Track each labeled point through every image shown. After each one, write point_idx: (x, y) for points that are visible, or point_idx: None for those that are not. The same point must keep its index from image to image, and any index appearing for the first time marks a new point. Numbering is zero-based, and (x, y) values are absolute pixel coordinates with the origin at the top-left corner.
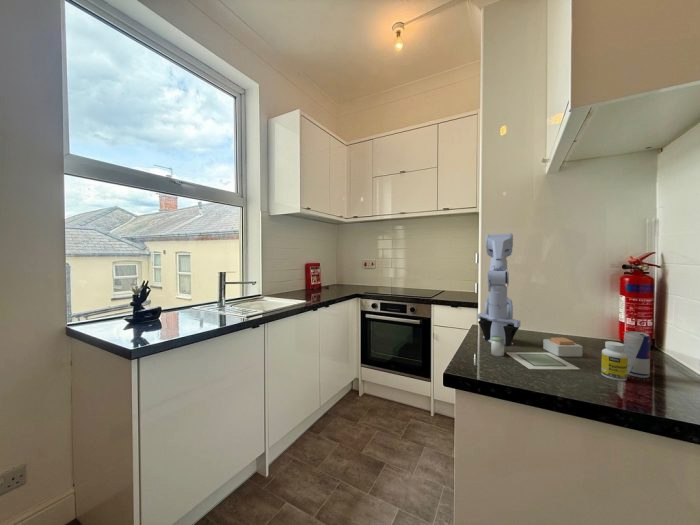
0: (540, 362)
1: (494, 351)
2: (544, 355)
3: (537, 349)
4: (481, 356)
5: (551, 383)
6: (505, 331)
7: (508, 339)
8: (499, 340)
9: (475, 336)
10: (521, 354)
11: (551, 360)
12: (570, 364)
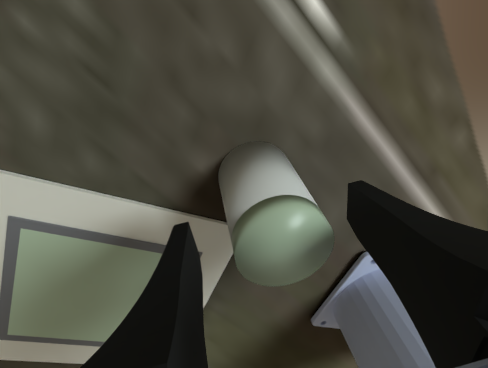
0: (57, 275)
1: (252, 154)
2: None
3: (224, 356)
4: (271, 39)
5: None
6: (160, 324)
7: (157, 270)
8: (240, 227)
9: None
10: None
11: (78, 327)
12: (20, 356)
